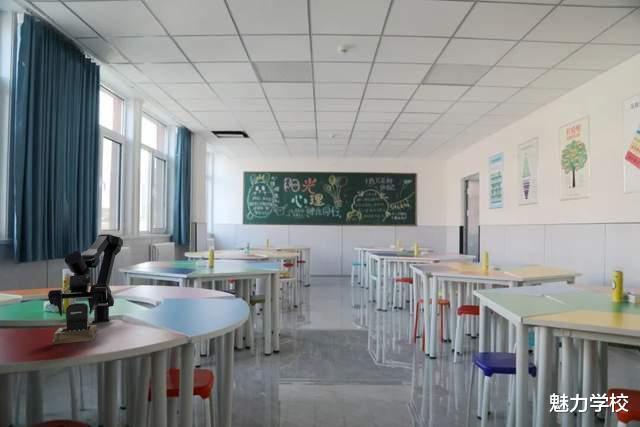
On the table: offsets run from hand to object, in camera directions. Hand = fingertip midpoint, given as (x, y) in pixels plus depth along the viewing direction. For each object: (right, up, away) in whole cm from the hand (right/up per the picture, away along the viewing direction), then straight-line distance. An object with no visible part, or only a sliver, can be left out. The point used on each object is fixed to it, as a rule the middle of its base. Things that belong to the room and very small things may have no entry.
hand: (75, 314), depth 145 cm
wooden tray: (0, -9, +1) cm, 9 cm away
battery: (0, -8, +1) cm, 8 cm away
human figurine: (-27, -11, +41) cm, 50 cm away
